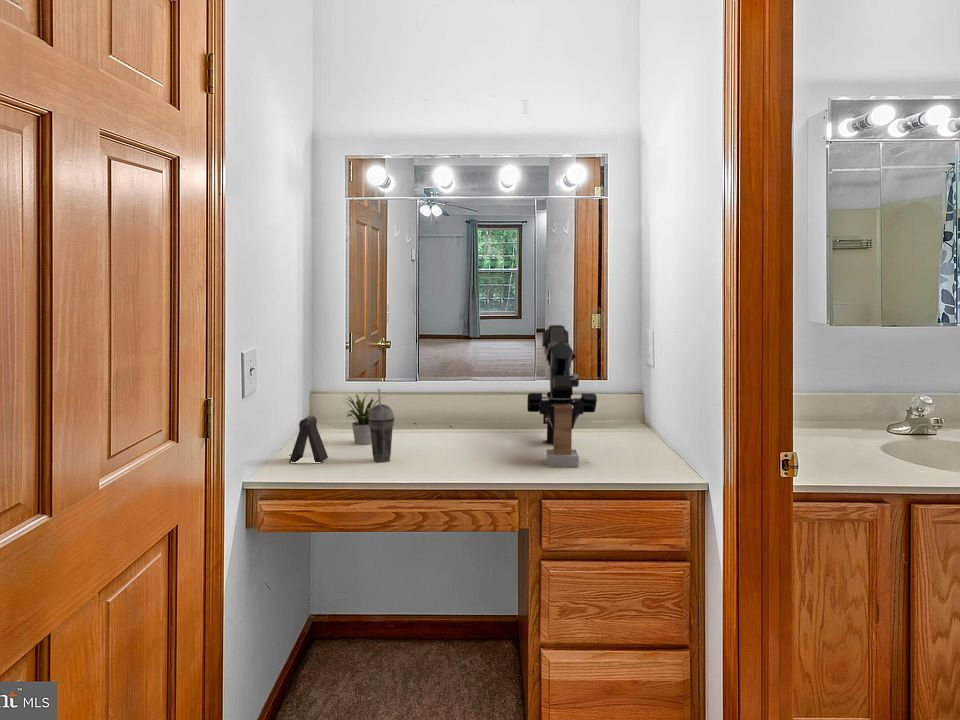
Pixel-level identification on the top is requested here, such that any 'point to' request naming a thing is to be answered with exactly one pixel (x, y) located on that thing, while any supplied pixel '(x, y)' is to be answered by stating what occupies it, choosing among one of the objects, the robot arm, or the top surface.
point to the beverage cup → (381, 431)
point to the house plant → (361, 421)
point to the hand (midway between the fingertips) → (562, 428)
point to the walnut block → (562, 429)
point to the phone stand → (313, 438)
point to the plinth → (562, 459)
